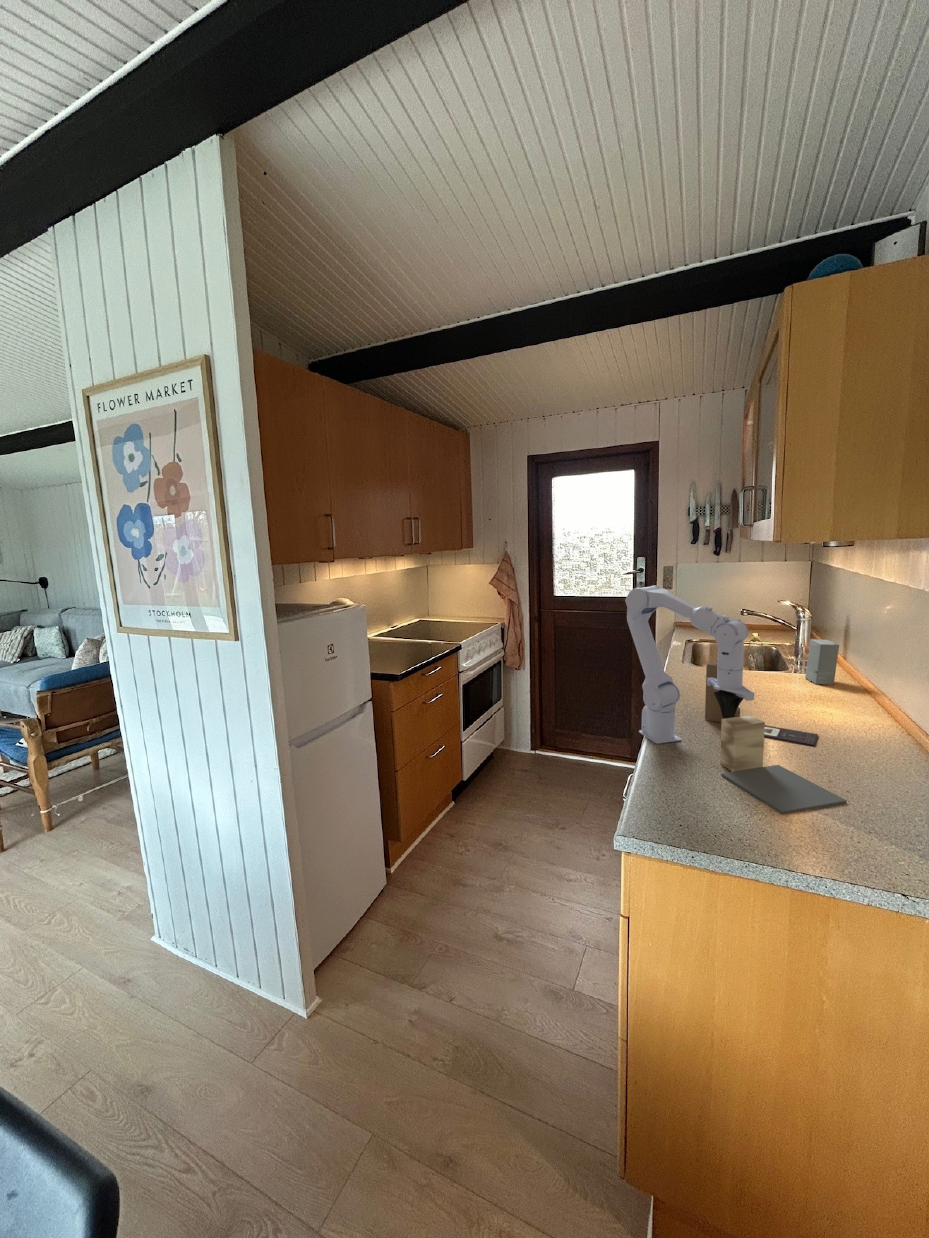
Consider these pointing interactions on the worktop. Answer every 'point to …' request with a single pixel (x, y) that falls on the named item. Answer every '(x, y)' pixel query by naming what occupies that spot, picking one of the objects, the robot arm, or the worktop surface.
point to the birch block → (742, 743)
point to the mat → (783, 789)
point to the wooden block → (713, 697)
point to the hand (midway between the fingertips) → (728, 719)
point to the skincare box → (822, 661)
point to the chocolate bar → (790, 735)
